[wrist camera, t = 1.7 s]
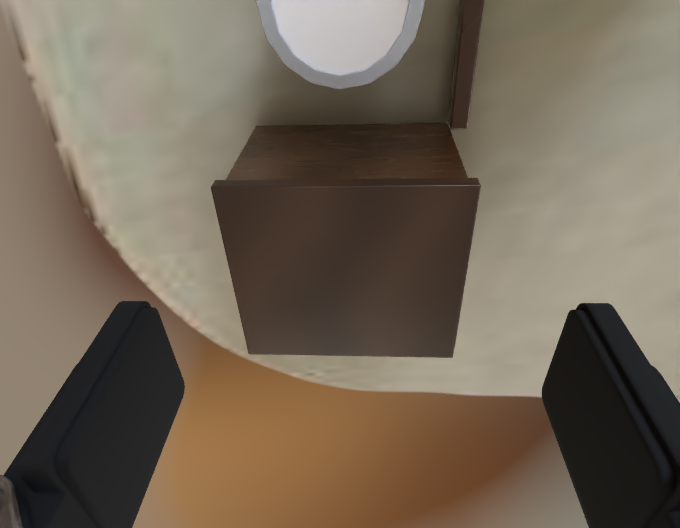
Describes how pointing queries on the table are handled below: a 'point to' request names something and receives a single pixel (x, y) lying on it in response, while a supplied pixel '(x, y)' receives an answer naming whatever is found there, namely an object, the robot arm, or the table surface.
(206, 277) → the table surface
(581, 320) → the robot arm
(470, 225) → the brown block with crank
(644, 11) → the table surface
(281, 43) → the white cup
